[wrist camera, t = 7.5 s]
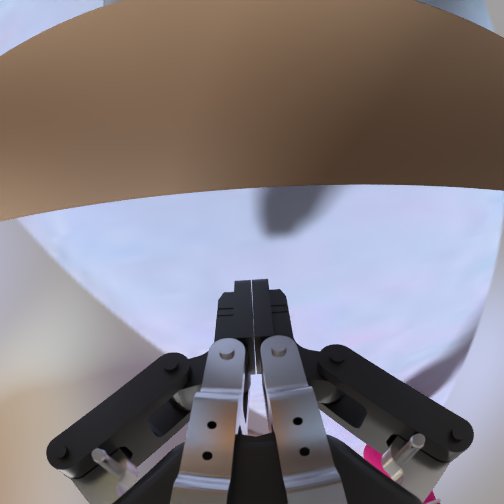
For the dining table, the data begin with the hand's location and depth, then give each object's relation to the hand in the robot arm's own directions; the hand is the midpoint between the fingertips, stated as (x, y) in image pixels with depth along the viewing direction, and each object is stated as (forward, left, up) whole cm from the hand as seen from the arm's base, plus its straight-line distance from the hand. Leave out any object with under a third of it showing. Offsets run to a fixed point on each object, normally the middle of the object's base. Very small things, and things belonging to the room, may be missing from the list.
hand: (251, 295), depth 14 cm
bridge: (-9, 0, -3) cm, 9 cm away
